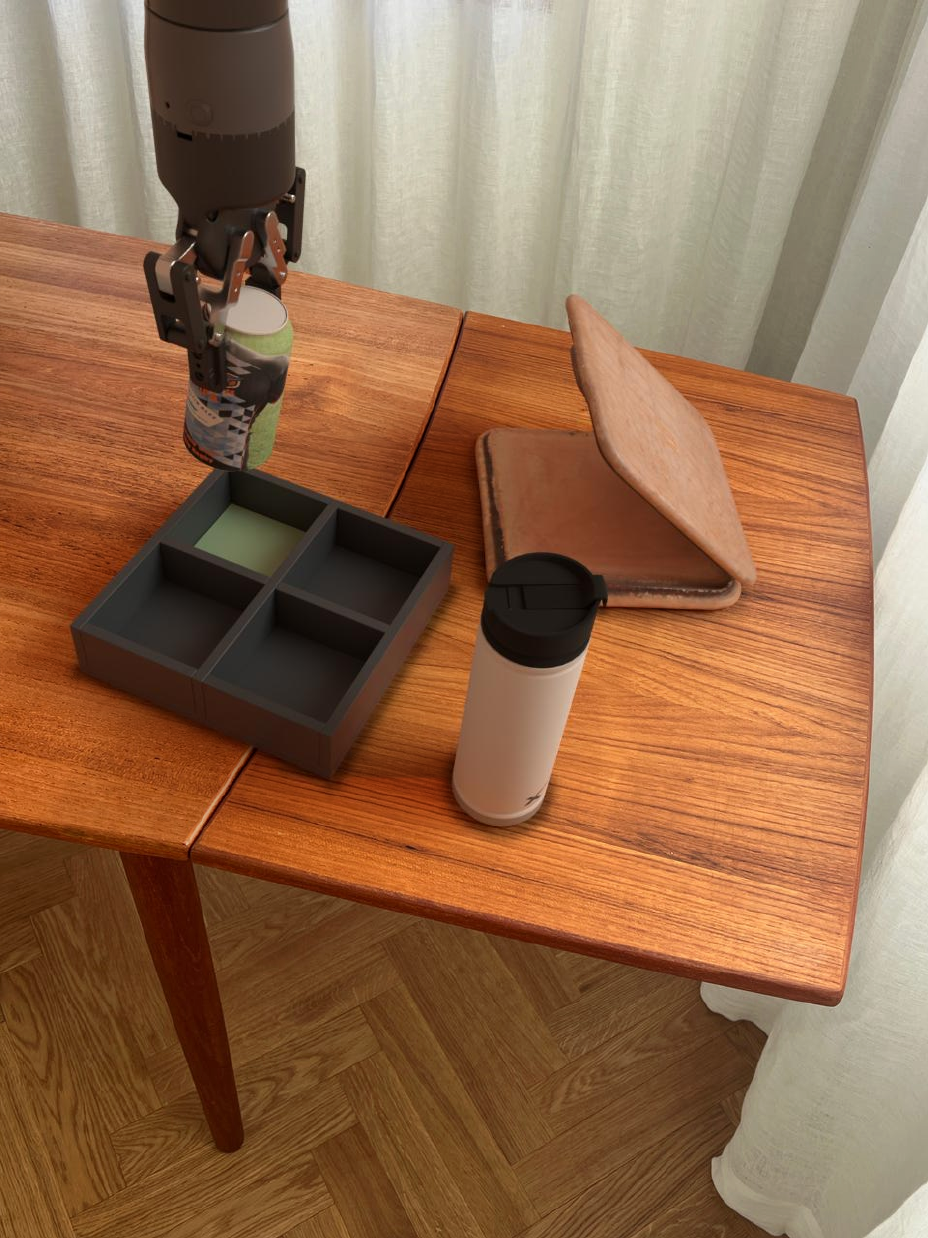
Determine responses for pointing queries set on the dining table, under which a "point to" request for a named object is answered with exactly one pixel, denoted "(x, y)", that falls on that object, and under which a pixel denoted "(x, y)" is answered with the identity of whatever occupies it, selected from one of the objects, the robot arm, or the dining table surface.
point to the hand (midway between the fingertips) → (238, 358)
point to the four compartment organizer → (267, 615)
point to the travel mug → (523, 683)
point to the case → (619, 485)
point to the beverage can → (243, 386)
